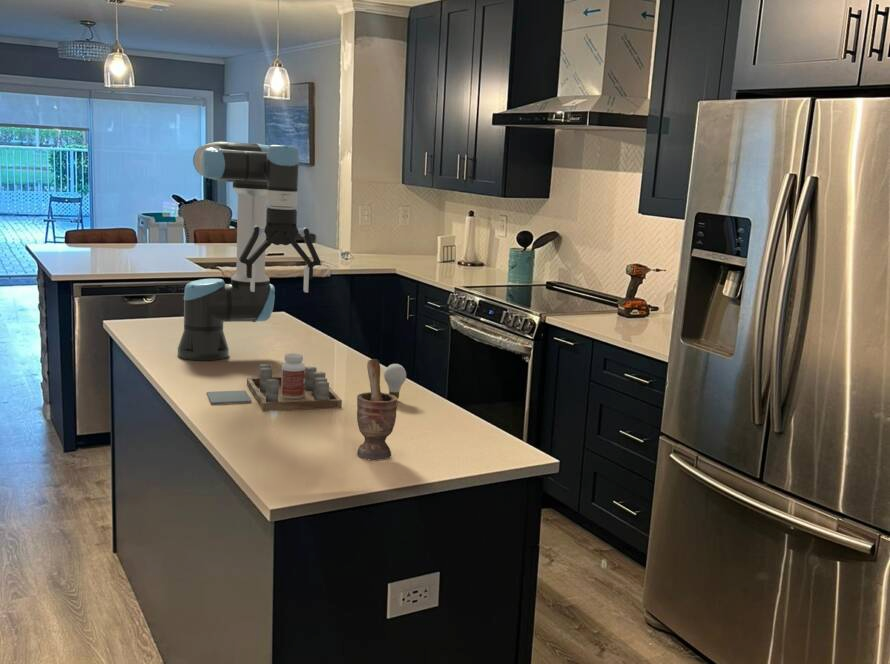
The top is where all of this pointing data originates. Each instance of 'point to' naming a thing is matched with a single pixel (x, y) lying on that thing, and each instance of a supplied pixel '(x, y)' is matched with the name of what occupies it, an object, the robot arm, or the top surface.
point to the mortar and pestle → (375, 416)
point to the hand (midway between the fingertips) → (279, 291)
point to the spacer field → (271, 387)
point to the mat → (228, 397)
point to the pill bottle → (293, 377)
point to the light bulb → (395, 378)
